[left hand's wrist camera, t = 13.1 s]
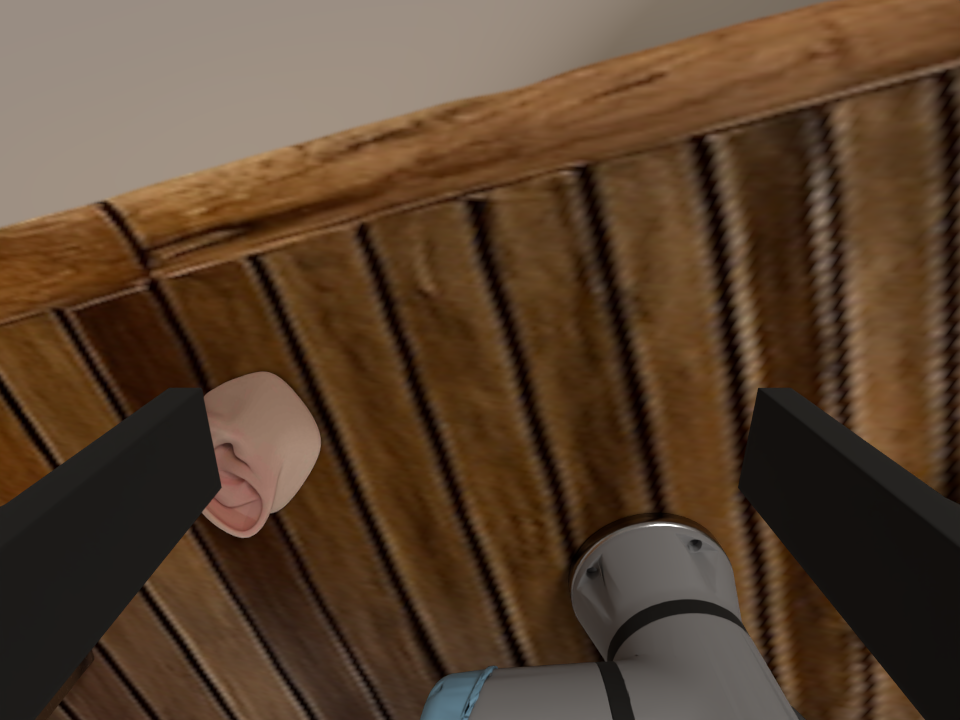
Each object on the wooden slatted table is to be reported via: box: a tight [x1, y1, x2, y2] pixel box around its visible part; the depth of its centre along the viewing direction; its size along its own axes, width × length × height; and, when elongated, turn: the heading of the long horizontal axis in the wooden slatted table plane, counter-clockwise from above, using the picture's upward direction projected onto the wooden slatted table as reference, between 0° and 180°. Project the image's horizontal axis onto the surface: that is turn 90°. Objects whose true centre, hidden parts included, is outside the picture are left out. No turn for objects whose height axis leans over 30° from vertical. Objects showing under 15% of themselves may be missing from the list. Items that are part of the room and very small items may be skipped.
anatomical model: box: [202, 372, 321, 538], centre depth 44 cm, size 13×4×12 cm
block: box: [35, 651, 94, 720], centre depth 49 cm, size 5×5×10 cm
